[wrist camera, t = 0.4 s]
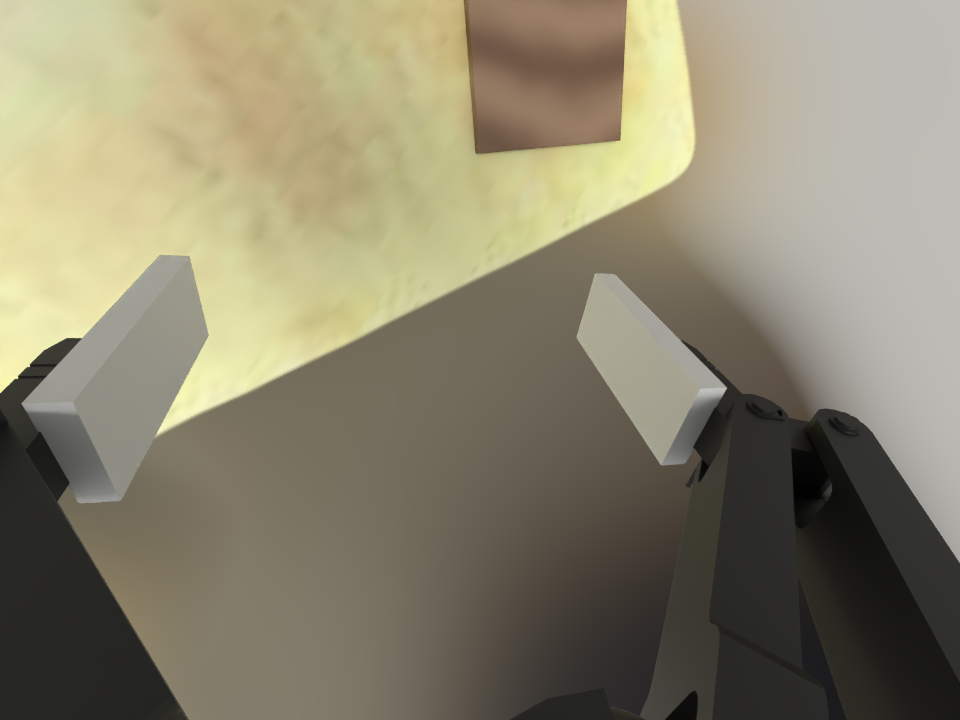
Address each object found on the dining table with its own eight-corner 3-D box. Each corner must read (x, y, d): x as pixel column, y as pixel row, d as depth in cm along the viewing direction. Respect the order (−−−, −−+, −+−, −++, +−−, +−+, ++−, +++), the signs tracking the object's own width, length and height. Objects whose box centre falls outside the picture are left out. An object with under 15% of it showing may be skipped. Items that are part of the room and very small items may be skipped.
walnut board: (460, -42, 33) (464, -48, 32) (620, -42, 36) (629, -48, 35) (475, 153, 39) (479, 153, 38) (613, 140, 42) (620, 140, 40)
